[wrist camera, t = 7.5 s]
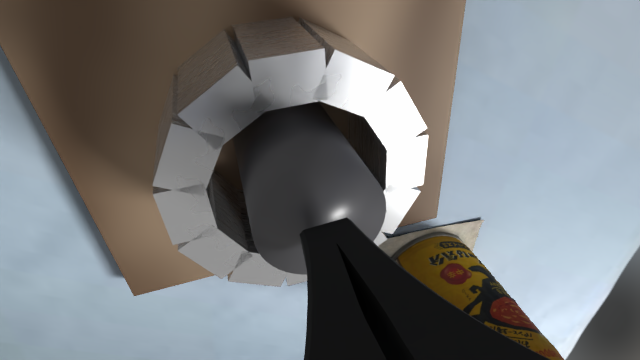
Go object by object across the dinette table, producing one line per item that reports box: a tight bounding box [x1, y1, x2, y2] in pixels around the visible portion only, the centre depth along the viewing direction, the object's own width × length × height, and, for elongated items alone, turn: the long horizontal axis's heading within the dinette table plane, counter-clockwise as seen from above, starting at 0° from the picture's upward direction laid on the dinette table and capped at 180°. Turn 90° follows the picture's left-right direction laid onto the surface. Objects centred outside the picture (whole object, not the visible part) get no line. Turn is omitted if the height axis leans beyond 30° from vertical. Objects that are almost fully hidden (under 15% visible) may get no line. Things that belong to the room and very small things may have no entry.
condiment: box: [378, 220, 564, 360], centre depth 22 cm, size 7×8×12 cm
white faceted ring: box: [152, 17, 428, 287], centre depth 15 cm, size 9×9×4 cm
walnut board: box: [0, 0, 466, 296], centre depth 17 cm, size 16×14×1 cm
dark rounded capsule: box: [233, 102, 386, 275], centre depth 14 cm, size 4×4×6 cm
